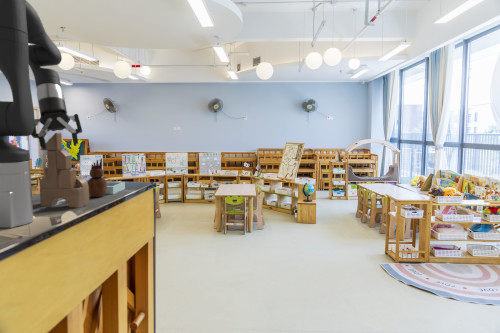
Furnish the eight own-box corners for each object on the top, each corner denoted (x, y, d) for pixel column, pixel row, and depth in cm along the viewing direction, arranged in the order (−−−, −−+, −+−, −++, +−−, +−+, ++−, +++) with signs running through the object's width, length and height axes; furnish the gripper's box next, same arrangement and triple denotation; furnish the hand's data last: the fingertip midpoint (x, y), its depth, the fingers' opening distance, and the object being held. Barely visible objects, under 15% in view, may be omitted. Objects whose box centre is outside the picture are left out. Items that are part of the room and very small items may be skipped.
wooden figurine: (109, 195, 125) (108, 158, 124) (101, 198, 120) (100, 159, 118) (93, 194, 126) (92, 157, 124) (84, 197, 120) (83, 158, 119)
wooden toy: (90, 203, 112) (87, 132, 109) (78, 208, 105) (75, 133, 102) (49, 201, 113) (46, 132, 110) (35, 206, 106) (31, 132, 103)
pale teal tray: (113, 194, 128) (113, 186, 127) (83, 193, 128) (83, 186, 127) (124, 188, 140) (124, 182, 139) (98, 188, 140) (97, 181, 139)
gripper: (22, 97, 97) (31, 147, 95) (74, 94, 103) (84, 140, 101) (28, 107, 104) (37, 153, 102) (76, 103, 110) (85, 147, 108)
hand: (60, 147), depth 101 cm, fingers open, 8 cm apart
